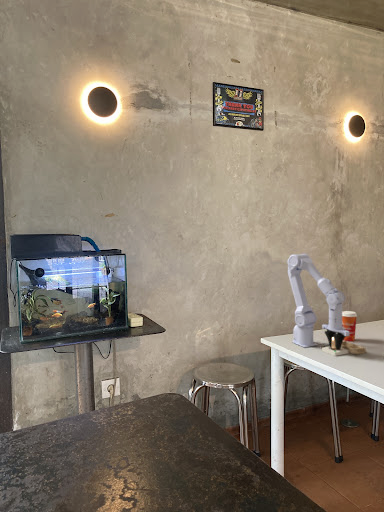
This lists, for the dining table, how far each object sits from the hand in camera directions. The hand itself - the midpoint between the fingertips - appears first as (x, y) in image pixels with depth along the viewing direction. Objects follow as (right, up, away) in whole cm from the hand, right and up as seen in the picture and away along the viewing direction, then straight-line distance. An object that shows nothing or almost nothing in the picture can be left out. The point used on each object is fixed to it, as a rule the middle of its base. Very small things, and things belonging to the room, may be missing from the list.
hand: (335, 347), depth 174 cm
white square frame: (0, -2, 0) cm, 2 cm away
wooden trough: (+8, -2, +3) cm, 8 cm away
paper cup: (+14, -1, +18) cm, 23 cm away
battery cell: (0, -2, 0) cm, 2 cm away
